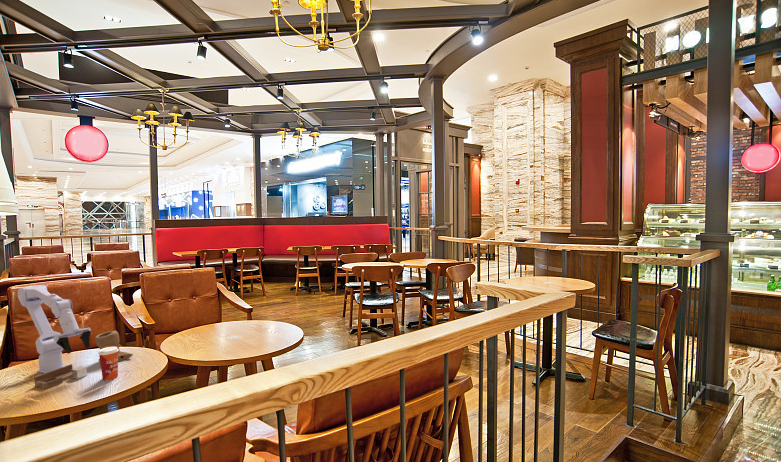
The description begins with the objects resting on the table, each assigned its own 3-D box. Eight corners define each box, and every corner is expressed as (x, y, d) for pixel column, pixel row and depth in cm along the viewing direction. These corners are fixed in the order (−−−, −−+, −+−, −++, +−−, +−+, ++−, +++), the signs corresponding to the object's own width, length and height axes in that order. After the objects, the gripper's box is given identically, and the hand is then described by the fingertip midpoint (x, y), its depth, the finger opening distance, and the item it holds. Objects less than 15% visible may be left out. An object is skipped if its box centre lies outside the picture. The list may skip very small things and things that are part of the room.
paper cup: (109, 383, 174) (107, 352, 173) (95, 381, 175) (93, 351, 174) (125, 375, 181) (123, 346, 180) (111, 374, 183) (109, 345, 182)
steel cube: (71, 377, 179) (71, 369, 178) (81, 374, 182) (80, 366, 182) (77, 379, 177) (76, 370, 177) (87, 375, 181) (86, 367, 181)
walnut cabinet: (35, 387, 170) (34, 376, 170) (73, 373, 185) (72, 363, 184) (49, 391, 167) (48, 379, 167) (87, 376, 181) (86, 366, 181)
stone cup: (92, 362, 199) (90, 333, 198) (117, 354, 210) (115, 326, 209) (109, 366, 192) (107, 337, 191) (133, 358, 203) (132, 330, 202)
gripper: (55, 324, 174) (65, 351, 172) (90, 316, 187) (100, 341, 185) (47, 330, 176) (57, 358, 174) (82, 322, 189) (92, 347, 187)
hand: (79, 350), depth 180 cm, fingers open, 7 cm apart
